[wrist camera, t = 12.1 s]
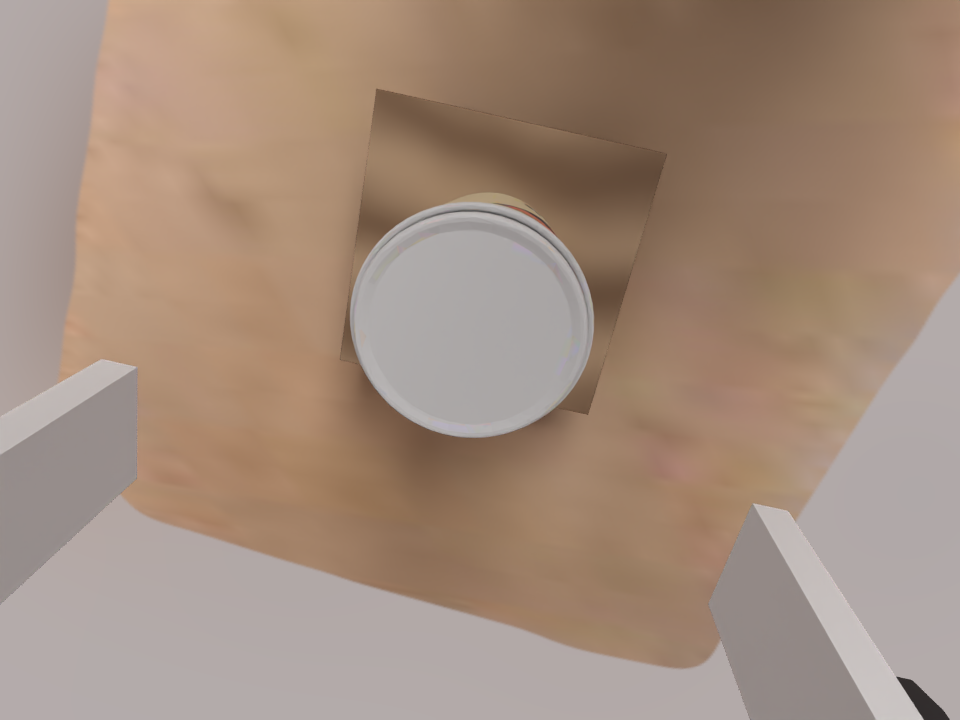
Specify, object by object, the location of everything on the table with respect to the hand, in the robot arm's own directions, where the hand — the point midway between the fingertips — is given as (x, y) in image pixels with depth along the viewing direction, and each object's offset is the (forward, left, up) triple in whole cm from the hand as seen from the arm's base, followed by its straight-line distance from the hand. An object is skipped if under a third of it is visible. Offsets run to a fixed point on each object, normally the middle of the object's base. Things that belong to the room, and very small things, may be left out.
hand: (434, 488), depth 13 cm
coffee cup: (0, 0, -23) cm, 23 cm away
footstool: (0, 0, -28) cm, 28 cm away
